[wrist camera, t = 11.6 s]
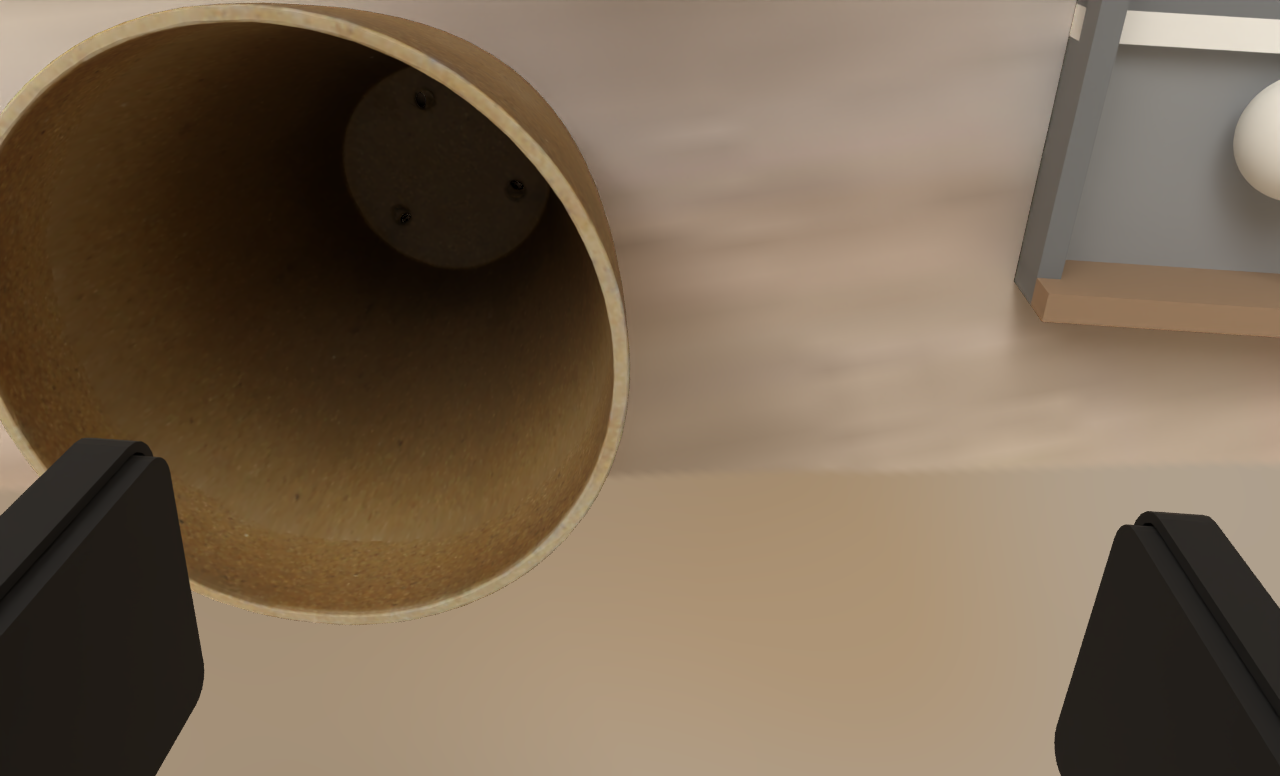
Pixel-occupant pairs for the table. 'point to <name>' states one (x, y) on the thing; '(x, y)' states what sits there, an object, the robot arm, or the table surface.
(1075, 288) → the tray
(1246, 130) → the ball
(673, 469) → the table surface
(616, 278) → the plant pot
